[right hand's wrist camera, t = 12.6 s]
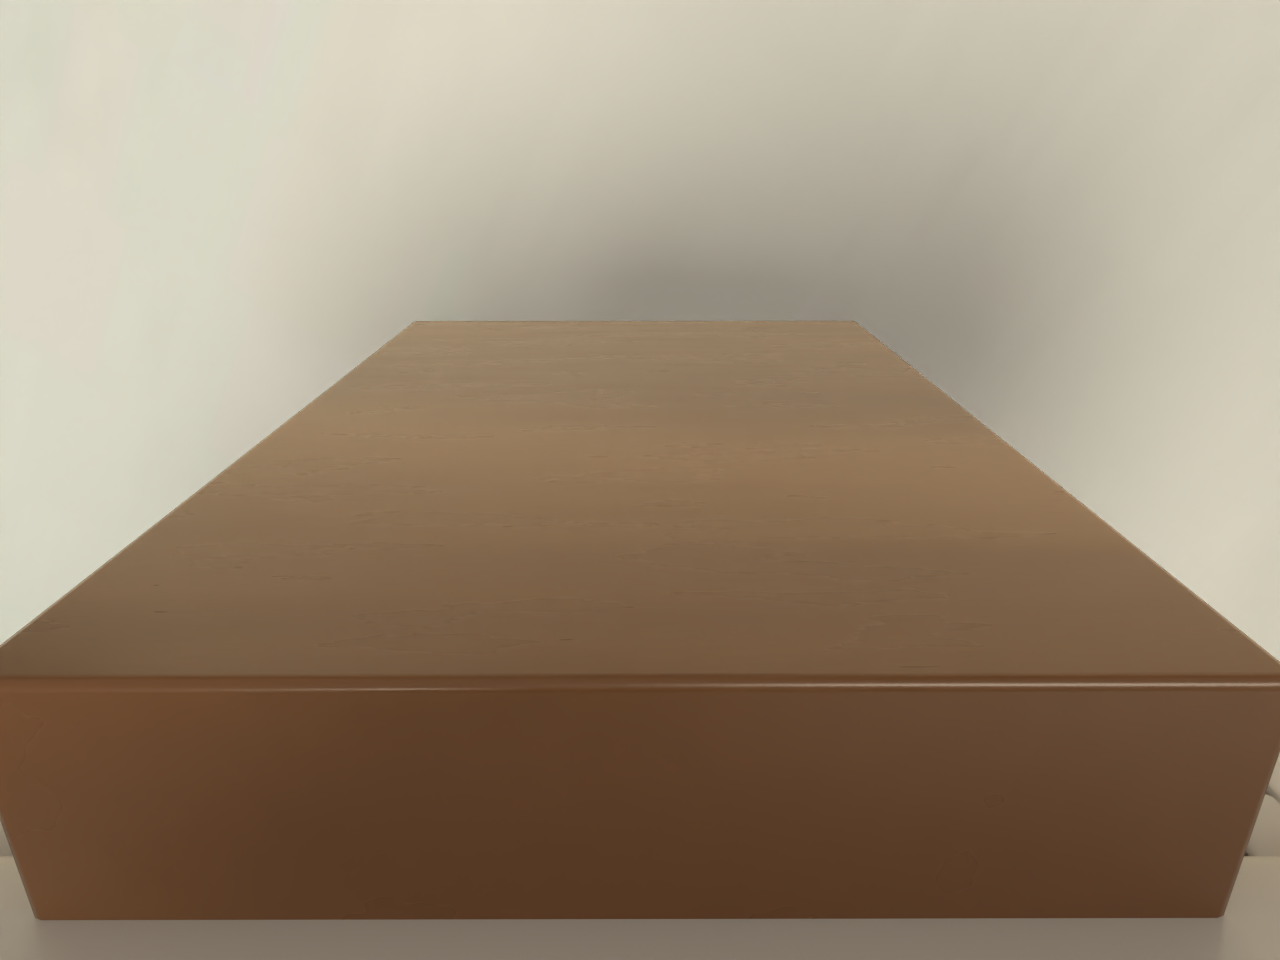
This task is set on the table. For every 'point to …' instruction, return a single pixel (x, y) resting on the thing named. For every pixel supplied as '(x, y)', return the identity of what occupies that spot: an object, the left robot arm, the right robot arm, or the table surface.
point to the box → (632, 659)
